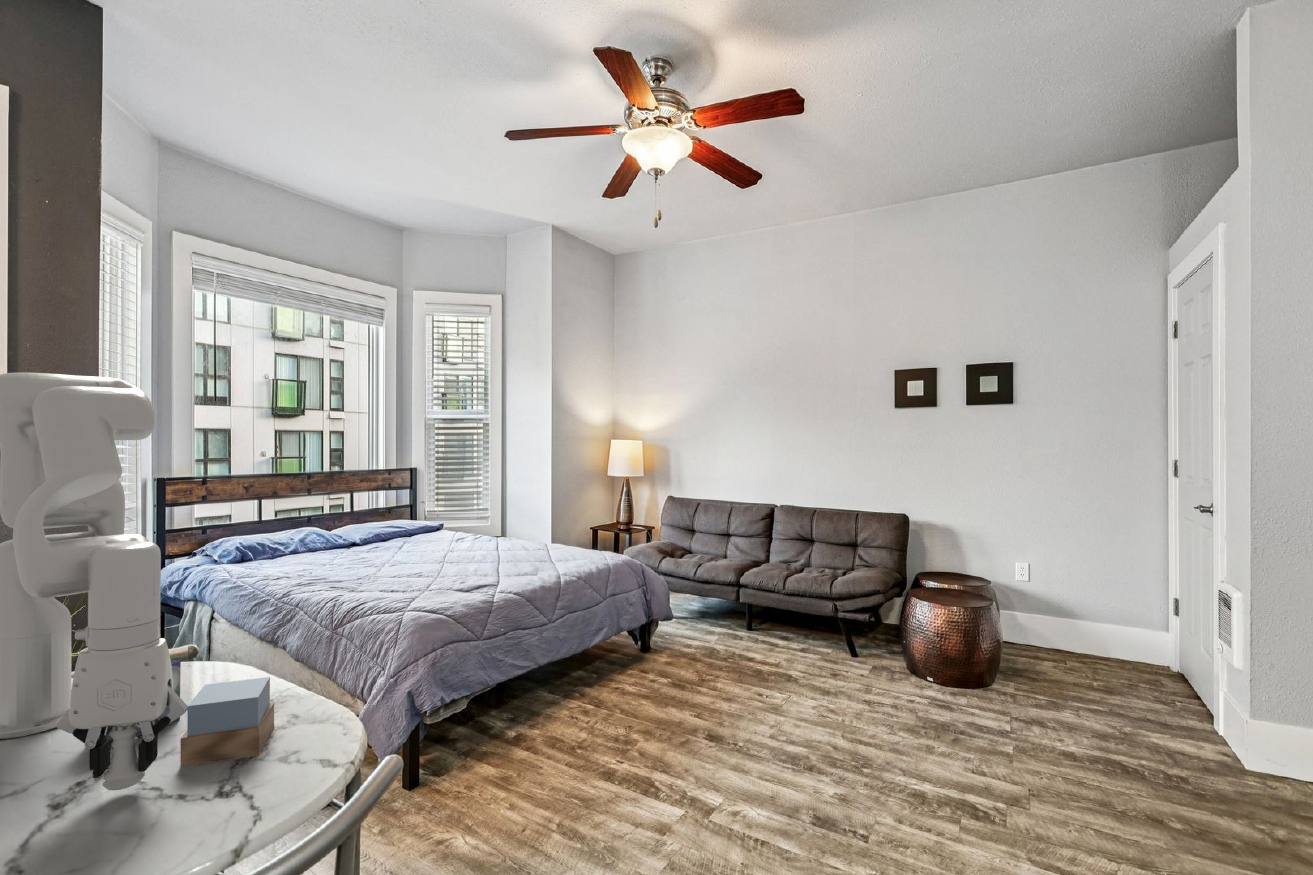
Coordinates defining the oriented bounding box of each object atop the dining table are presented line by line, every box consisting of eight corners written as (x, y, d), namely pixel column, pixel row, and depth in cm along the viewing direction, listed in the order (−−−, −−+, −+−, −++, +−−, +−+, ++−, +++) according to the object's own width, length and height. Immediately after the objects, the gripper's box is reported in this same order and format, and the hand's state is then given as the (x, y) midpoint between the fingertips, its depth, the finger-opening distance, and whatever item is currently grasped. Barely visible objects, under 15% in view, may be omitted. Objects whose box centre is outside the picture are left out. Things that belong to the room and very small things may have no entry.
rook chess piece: (140, 769, 89) (141, 712, 89) (149, 781, 86) (149, 722, 86) (98, 783, 86) (99, 724, 86) (106, 795, 83) (106, 734, 83)
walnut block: (180, 769, 93) (180, 738, 93) (203, 739, 103) (203, 711, 103) (259, 757, 97) (259, 727, 97) (274, 729, 106) (274, 702, 106)
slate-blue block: (187, 736, 94) (187, 706, 94) (205, 712, 102) (205, 684, 102) (258, 726, 97) (258, 696, 97) (269, 703, 106) (269, 676, 106)
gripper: (29, 650, 79) (28, 796, 80) (189, 637, 85) (188, 773, 85) (61, 632, 86) (61, 766, 87) (207, 621, 92) (206, 747, 92)
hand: (124, 768), depth 86 cm, fingers closed on rook chess piece, 4 cm apart
